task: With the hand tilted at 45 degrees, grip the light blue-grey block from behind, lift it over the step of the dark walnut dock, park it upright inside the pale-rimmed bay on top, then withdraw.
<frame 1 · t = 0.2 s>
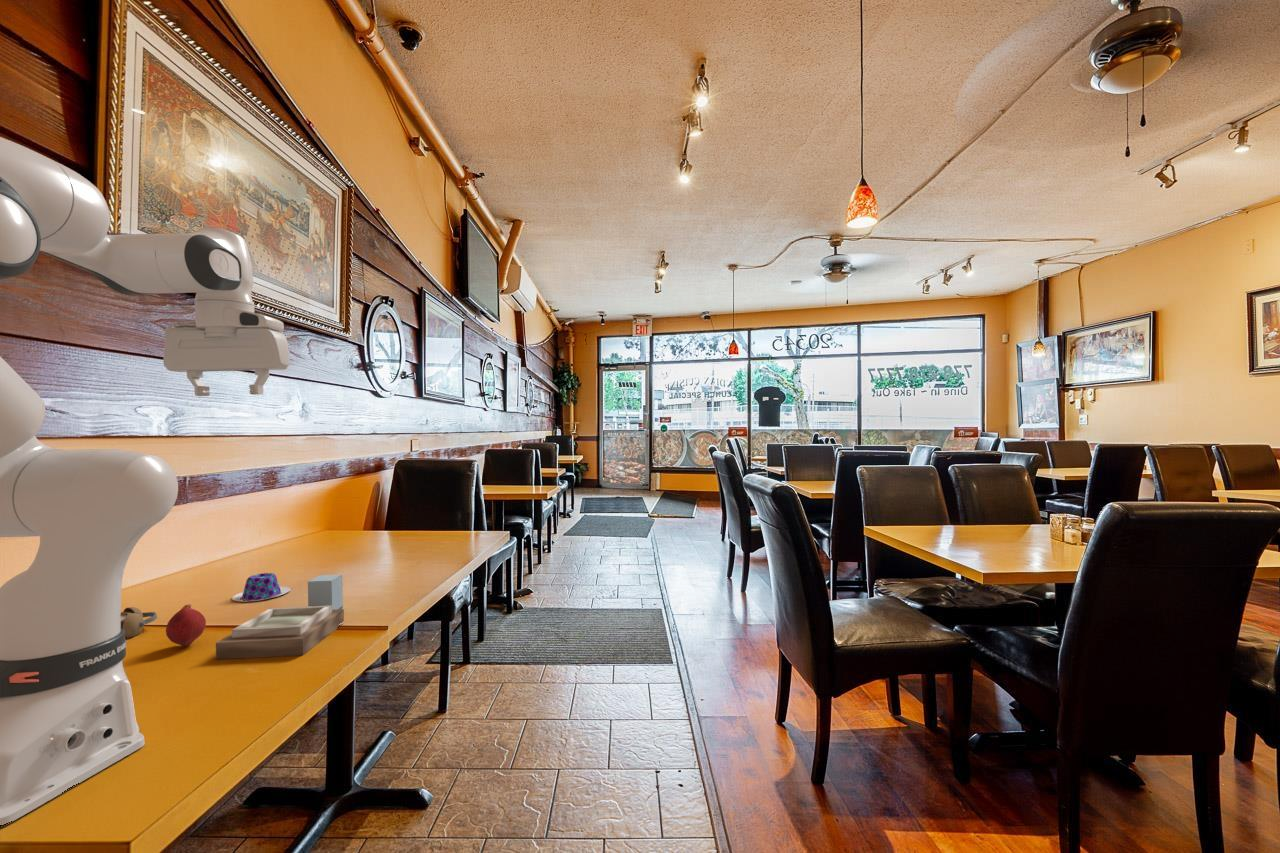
hand: (229, 395, 100), 48 cm above the table, tool pointing down, fingers open, 8 cm apart
onion: (186, 647, 103), on the table
light blue-grey block: (326, 613, 121), on the table
alarm clock: (107, 639, 109), on the table
purple and white hat: (261, 597, 135), on the table
dock: (285, 639, 106), on the table
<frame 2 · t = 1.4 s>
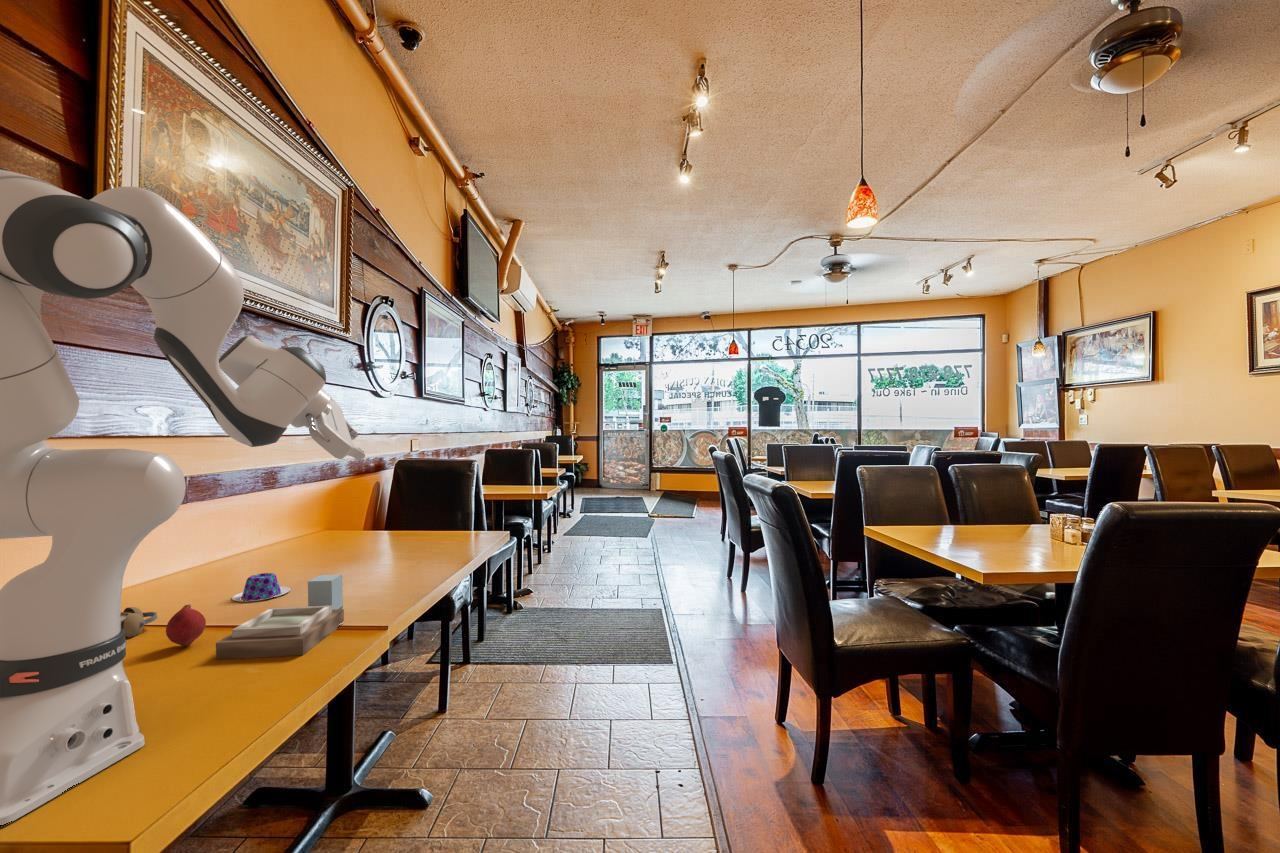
hand: (358, 446, 115), 37 cm above the table, tool tilted 50°, fingers open, 8 cm apart
nothing on the table moved.
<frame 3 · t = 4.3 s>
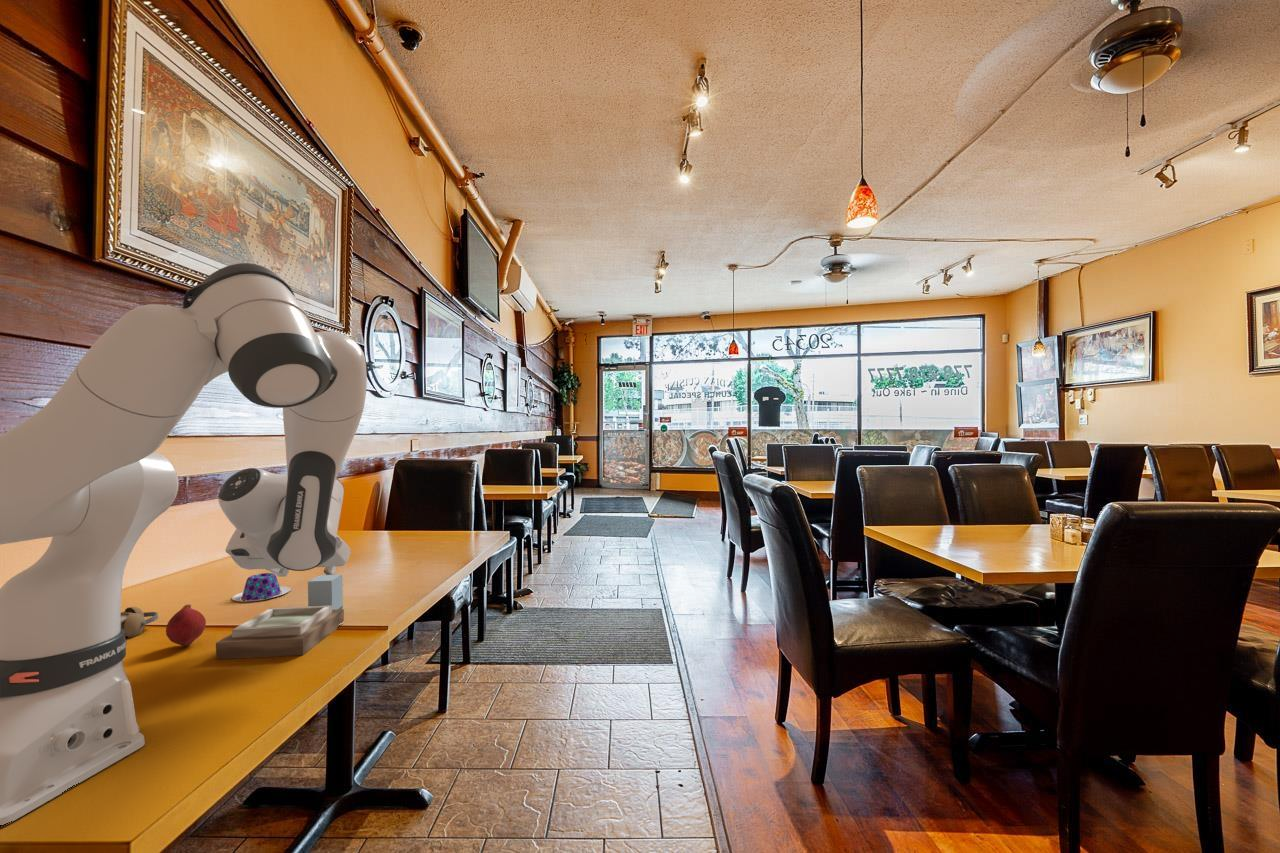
hand: (308, 572, 112), 11 cm above the table, tool tilted 45°, fingers open, 8 cm apart
nothing on the table moved.
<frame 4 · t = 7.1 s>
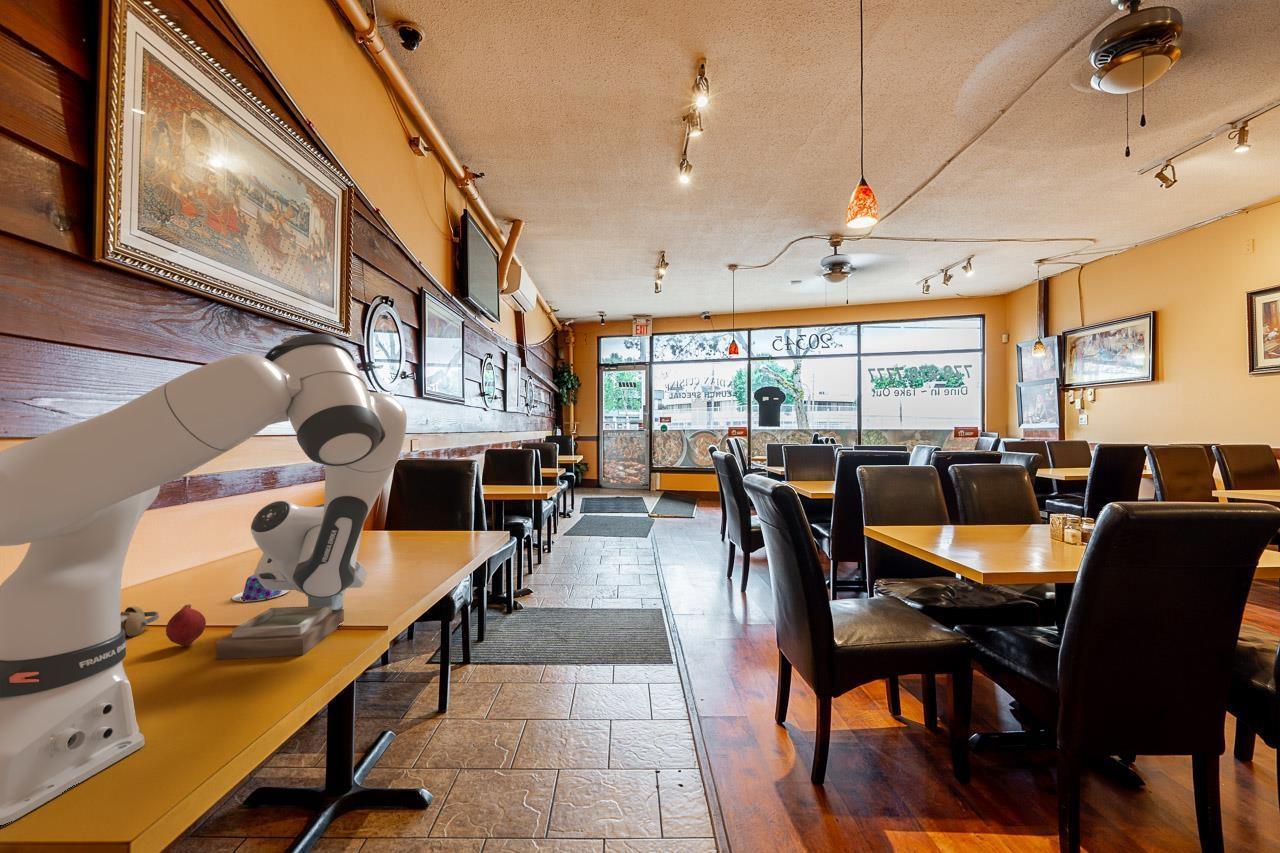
hand: (327, 592, 121), 4 cm above the table, tool tilted 45°, fingers closed on light blue-grey block, 5 cm apart
light blue-grey block: (326, 613, 121), on the table, touching gripper
everything else where it was.
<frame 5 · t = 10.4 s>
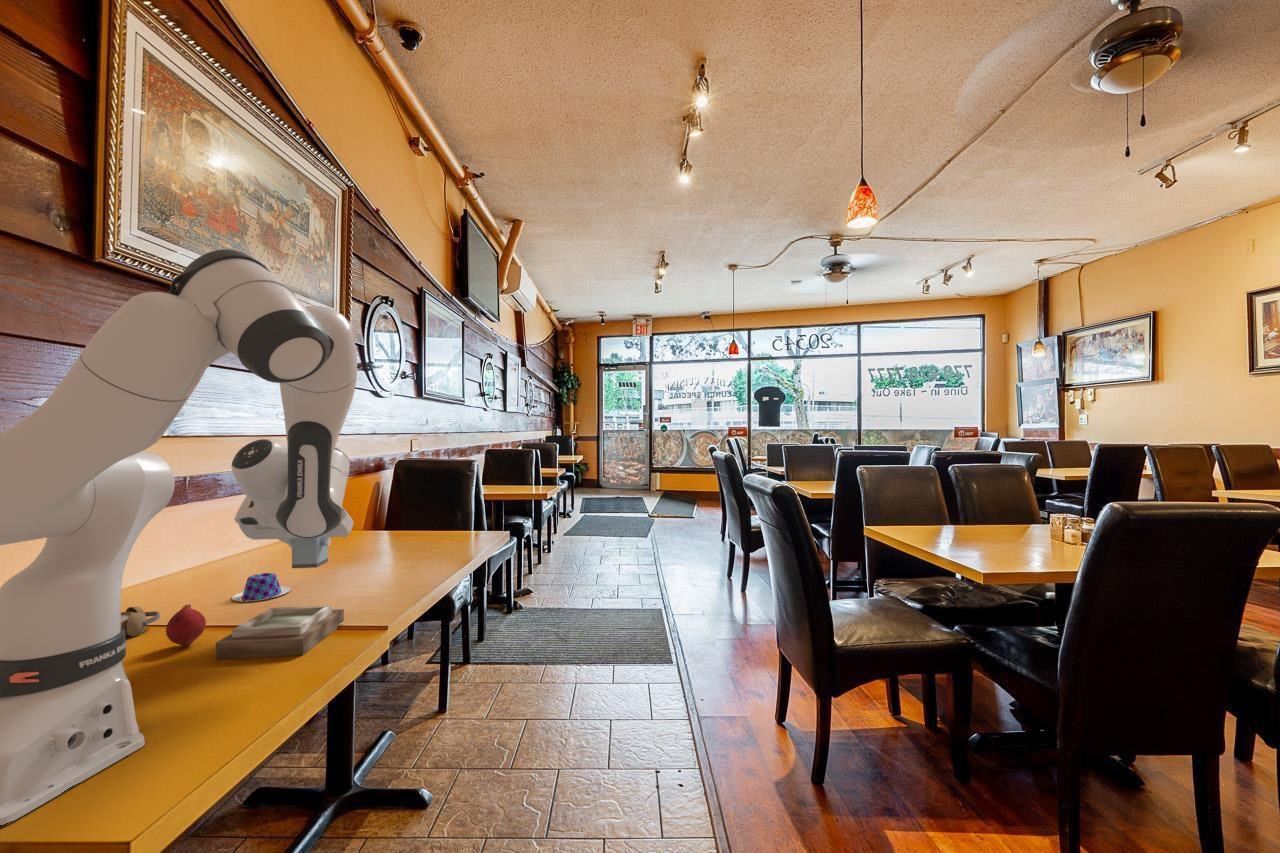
hand: (311, 544, 117), 16 cm above the table, tool tilted 45°, fingers closed on light blue-grey block, 5 cm apart
light blue-grey block: (310, 564, 117), point 12 cm above the table, touching gripper
when the fingers open (9 cm above the table, at t = 13.5 s): light blue-grey block drops 1 cm, resting on dock.
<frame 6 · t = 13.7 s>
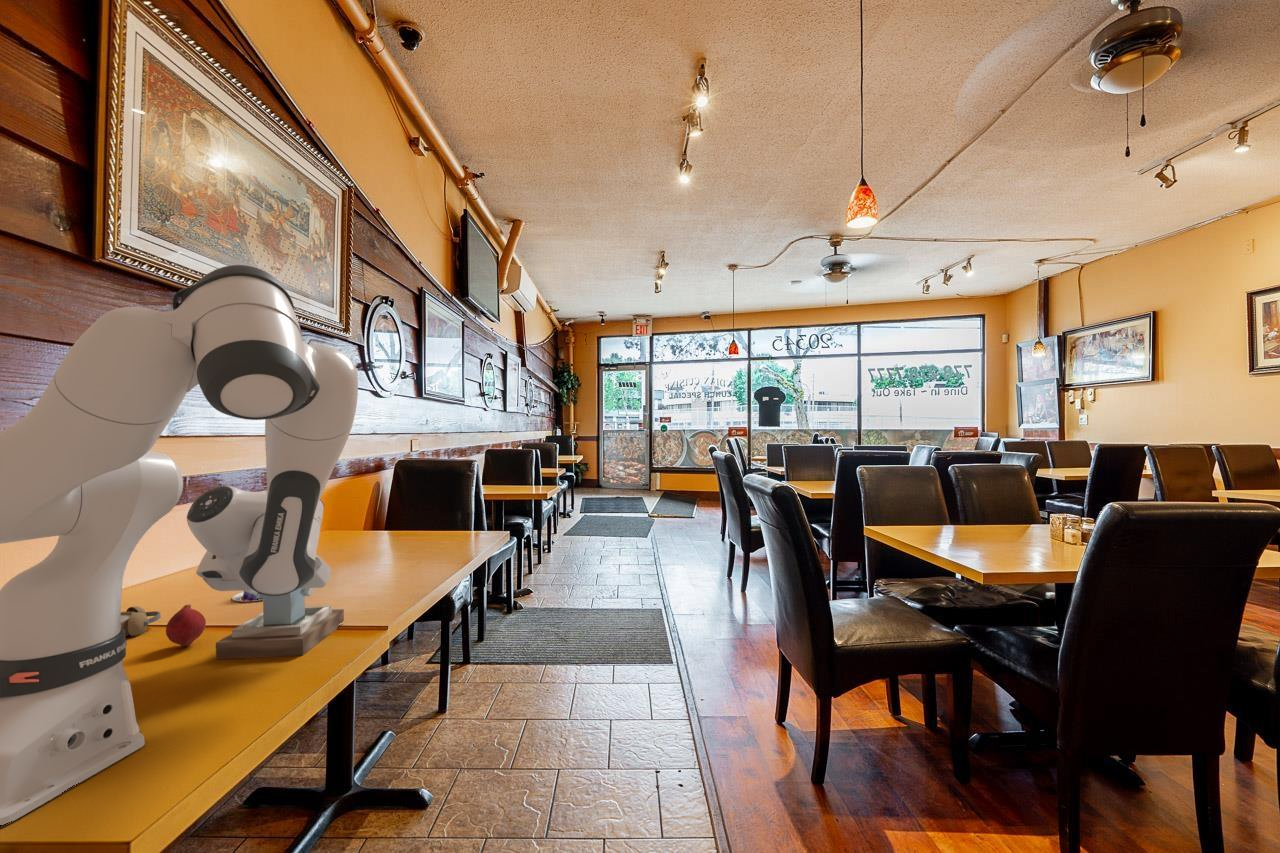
hand: (286, 593, 106), 9 cm above the table, tool tilted 45°, fingers open, 7 cm apart
light blue-grey block: (284, 623, 106), point 3 cm above the table, touching dock
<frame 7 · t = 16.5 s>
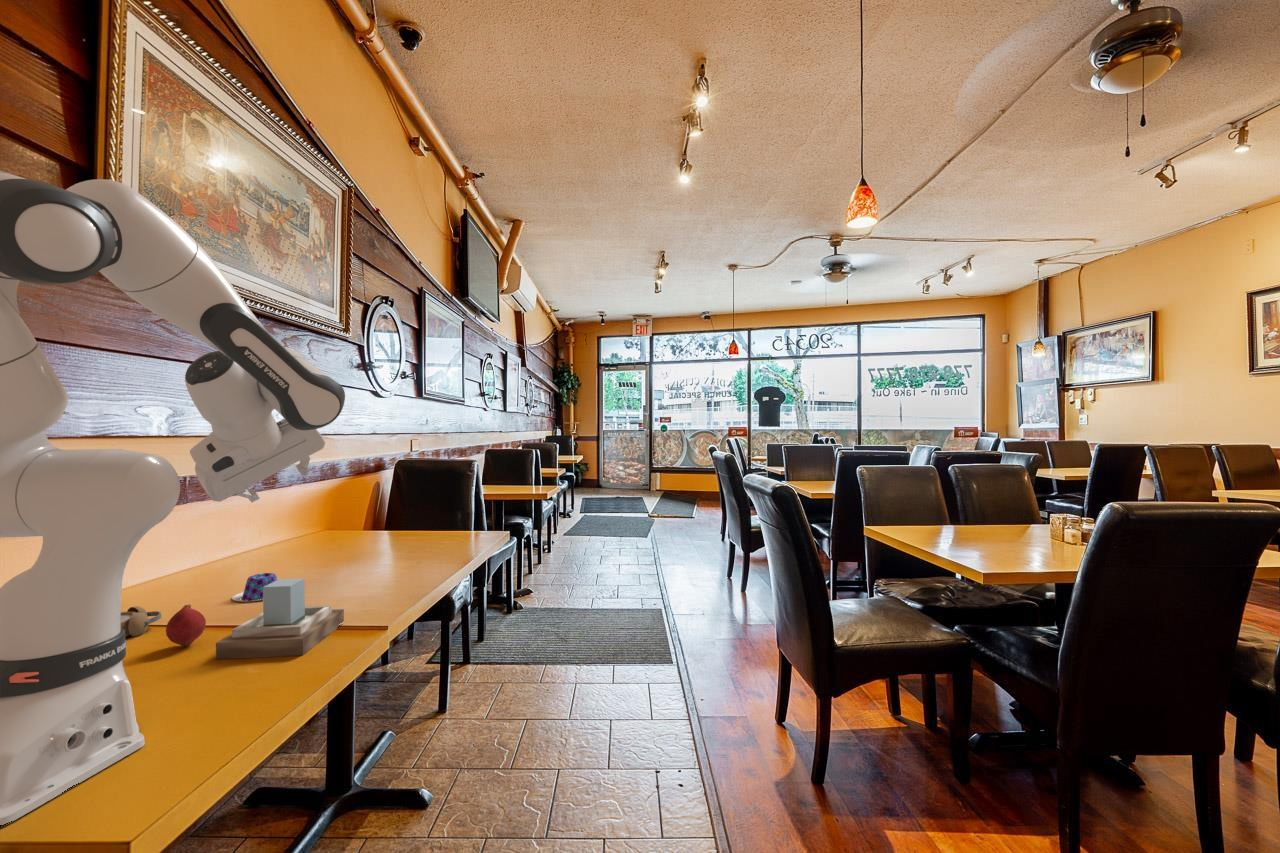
hand: (280, 485, 105), 30 cm above the table, tool tilted 45°, fingers open, 8 cm apart
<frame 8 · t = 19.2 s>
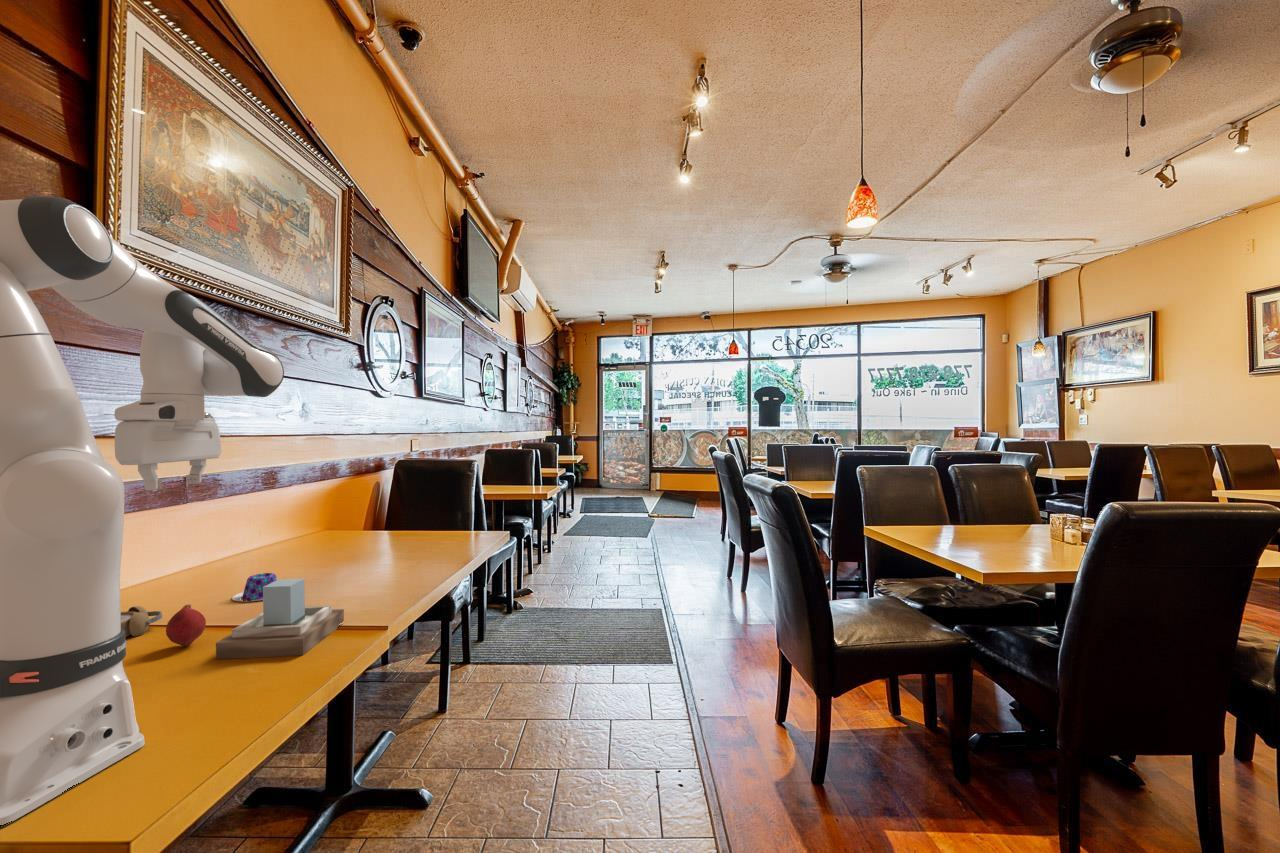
hand: (174, 486, 99), 31 cm above the table, tool pointing down, fingers open, 8 cm apart
at the end: light blue-grey block inside the target area on the dock (0.0 cm from its centre), point 3.2 cm above the dock's base; light blue-grey block tilted 0°; the gripper is holding nothing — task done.
